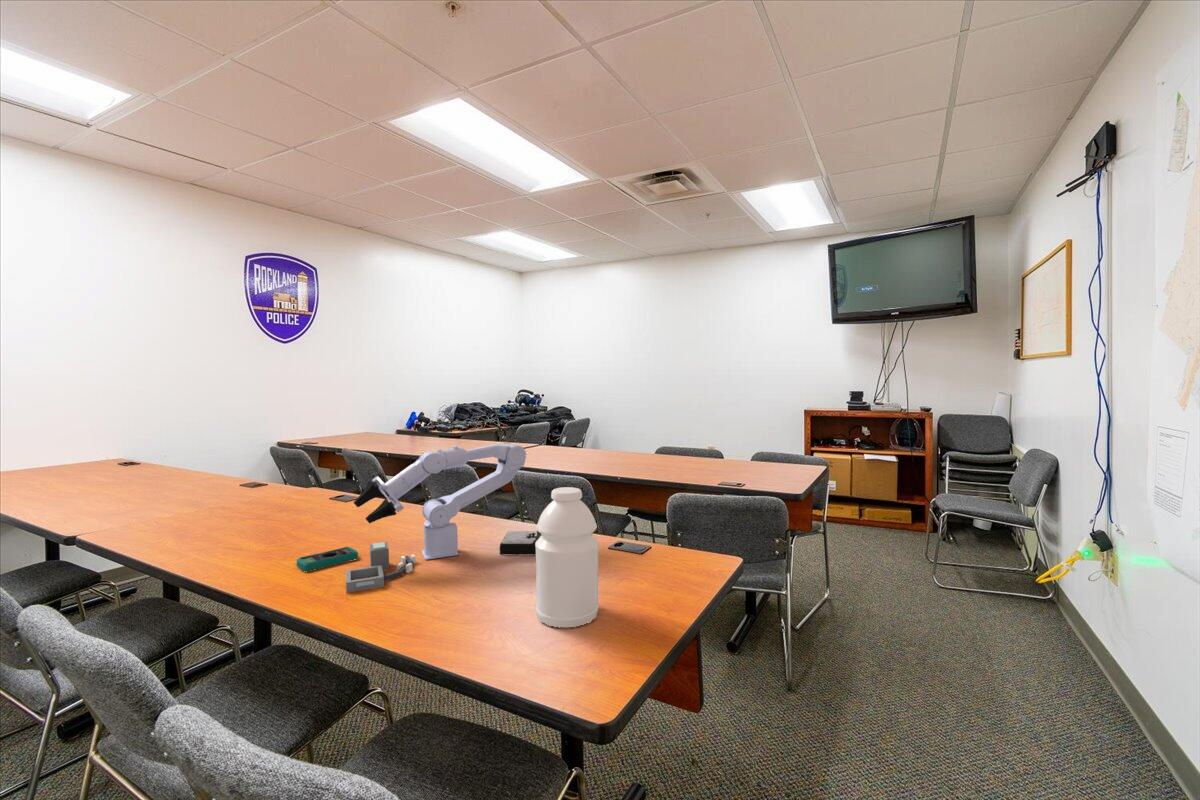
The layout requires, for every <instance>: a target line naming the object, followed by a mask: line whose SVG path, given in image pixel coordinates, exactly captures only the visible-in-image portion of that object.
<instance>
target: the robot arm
mask: <svg viewBox="0 0 1200 800" xmlns="http://www.w3.org/2000/svg"><path fill="white" fill-rule="evenodd" d="M487 458H496V459H497V466H496V468H495V469H496V470H495V471H494V472H491V473H489V474H488V475H486V476H484V477H482V478H480V479H478V480H476V481H475V482H474V481H473V482H472V483H471V484H469V485H467V486H465V487H463V488H461V489H459V490H457V491H456V492H454V493H452V494H448V495H443V496H441V497H439V498H434V499H433V498H432V499H429V500H428V501H426V502H425V503H424V504H423V506H422V509H421V510H422V511H421V512H422V515H423V517H424V518H425V521H424V523H423V540H424V541H423V543H424V544H423V547H424V549H422V550H421V553H422V556H423V558H424V560H433V559H439V558H447V557H454V556H458V555H459V551H458V550H459V547H458V546H459V544H458V543H459V541H458V539H459V538H458V537H459V536H458V526H457V524H456V522H450V521H451V520H452V518H454V517H456V516H457V515H458V513H459V512H460V510H461V509H463V508H466V507H467V506H469V505H471V504H473V503H475V502H476V501H478V500H480V499H482V498H483V497H485V496H487V495H489V494H491V493H493V492H494V491H496V490H498V489H500V488H502V487H503V486H505V485H507V484H510V482H511V481H512V480H513V479H514V477H515V476H516V474H517V473H518V471H519V470H520V469H521V468H523V467H524V466H525V463H526V459H527V452H526V450H525V448H524V447H522V446H520V445H516V444H513V443H511V442H504V443H501V442H500V443H499V442H497V443H493V444H488V445H484V446H480V447H474V448H471V449H470V448H469V449H464V448H463V447H461V446H458V445H453V446H452V448H449V449H442V450H441V449H440V448H439V449H436V452H434V451H426V452H422V453H421V454H420V456H419V457H418V459H417V460H415V462H413V463H411V464H410V465H408V466H407V467H405V468H404V469H403V470H401V471H400V472H399V473H397V474H396V475H395V476H393V477H391V478H390V479H389V480H387V481H386V482H384V481H383V480H382V479H381V478H380V477H379V475H377V476H376V477H374V478H373V479H372V480H369V481H368V482H367V484H366V485H365V488H364V489H363V491H362V492H361V493H360V494H359V496H357V498H356V499H355V500H353V504H354V506H356V508H360V507H361V506H363V505H365V504H366V503H368V502H369V501H371V500H373V499H375V498H378V497H380V496H384V497H385V498H384V500H383V501H382V502H381V503H380V504H379V506H378V507H377V508H376V509H374V510H373V511H372V512H370V513H369V514H368V515H367V516H366V517H365V520H366V521H367V523H368V524H371V523H373V522H376V521H379V520H381V519H384V518H388V517H391V516H393V517H394V516H396V515H397V514H398V513H400V512H402V510H404V506H403V505H402V503H401V502H400V501H399V500H398V499H400V498H401V497H402V496H404V495H405V494H407V493H408V492H409V491H410V490H412V489H413V488H415V487H417V485H419V484H420V483H421V482H423V481H424V480H425V479H427V477H429V476H431V474H439V473H440V472H441V471H442V470H443V471H444V470H449V469H453V468H454V469H455V468H459V467H464V466H465V465H466V464H467V463H468V462H469V461H474V460H480V459H487ZM385 492H386V493H387V494H388V495H389V496H388V495H387V494H386V493H385Z"/></svg>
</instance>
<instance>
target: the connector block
mask: <svg viewBox="0 0 1200 800" xmlns="http://www.w3.org/2000/svg"><path fill="white" fill-rule="evenodd" d="M389 549H390V548H389V544H388V542H384V541H383V542H375V543H371V544H369V562H370V564H369V565H370V566H371V567H372V566H379V565H382V570H383V572H384V570H386V571H389V570H390V555H389V554H390V552H389V551H390V550H389ZM370 566H369V567H370Z"/></svg>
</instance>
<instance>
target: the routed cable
mask: <svg viewBox="0 0 1200 800" xmlns="http://www.w3.org/2000/svg"><path fill="white" fill-rule="evenodd" d="M400 560H401V561H400V562H399V563H398V564H396V570H395V571H394V572H389V573H386V574H383V576H384V582H387V581H390V580H393V579H396V577H397V578H399V577H398V576H400V577H402V576H403V575H404V574H405V573H406V574H410V573H411V572H412V571H413V567H414V564H416V561H417V560H416V555H415V554H414V553H413V554H410V556H409V555H401V556H400ZM413 563H414V564H413ZM405 564H406V565H405ZM410 571H411V572H410ZM402 574H403V575H402ZM401 575H402V576H401Z"/></svg>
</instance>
